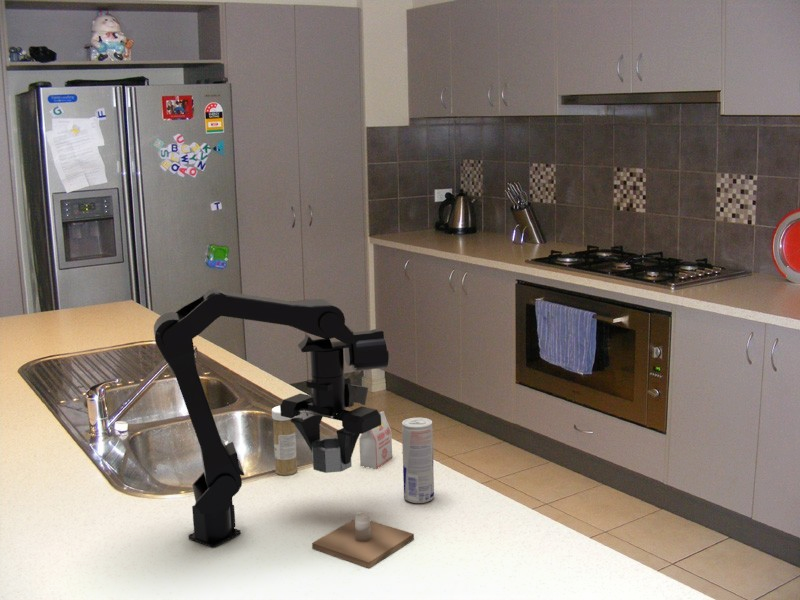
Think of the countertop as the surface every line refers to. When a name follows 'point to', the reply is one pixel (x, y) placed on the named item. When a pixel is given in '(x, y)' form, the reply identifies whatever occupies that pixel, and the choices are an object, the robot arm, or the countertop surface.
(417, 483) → the beverage can
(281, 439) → the sprinkles bottle
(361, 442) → the mini juice carton
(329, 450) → the ring
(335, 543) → the brown peg base
